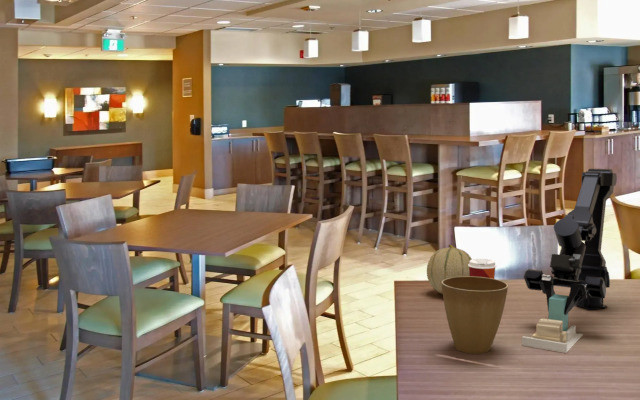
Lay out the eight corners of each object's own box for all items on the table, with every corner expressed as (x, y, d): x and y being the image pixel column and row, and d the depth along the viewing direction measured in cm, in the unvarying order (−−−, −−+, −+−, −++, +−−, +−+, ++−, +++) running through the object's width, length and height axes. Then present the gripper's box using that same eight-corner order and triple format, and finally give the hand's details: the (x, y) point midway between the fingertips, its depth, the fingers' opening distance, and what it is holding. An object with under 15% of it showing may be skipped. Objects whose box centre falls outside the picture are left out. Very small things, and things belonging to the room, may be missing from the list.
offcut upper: (540, 328, 167) (540, 318, 167) (562, 331, 165) (562, 320, 165) (536, 335, 162) (536, 325, 162) (558, 338, 160) (559, 327, 160)
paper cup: (496, 314, 190) (497, 264, 189) (467, 313, 192) (468, 263, 190) (494, 307, 198) (495, 258, 196) (467, 305, 200) (467, 257, 198)
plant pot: (494, 365, 152) (496, 293, 150) (430, 354, 159) (431, 285, 158) (514, 346, 164) (516, 279, 162) (454, 336, 172) (455, 272, 170)
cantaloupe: (437, 302, 203) (438, 252, 202) (419, 290, 218) (419, 243, 216) (484, 299, 207) (485, 249, 205) (462, 287, 221) (463, 240, 219)
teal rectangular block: (553, 331, 173) (554, 294, 172) (567, 333, 171) (568, 295, 170) (547, 336, 169) (549, 298, 168) (562, 339, 167) (563, 300, 166)
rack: (541, 330, 176) (542, 320, 176) (583, 336, 171) (583, 326, 170) (521, 347, 163) (522, 336, 163) (565, 355, 158) (566, 344, 157)
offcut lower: (540, 337, 169) (540, 327, 168) (566, 341, 165) (566, 331, 165) (531, 345, 163) (532, 335, 162) (558, 350, 159) (558, 339, 159)
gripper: (527, 237, 176) (511, 289, 168) (605, 244, 166) (592, 300, 158) (535, 262, 183) (521, 313, 176) (611, 270, 173) (599, 325, 165)
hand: (557, 312), depth 168 cm, fingers closed on teal rectangular block, 3 cm apart
